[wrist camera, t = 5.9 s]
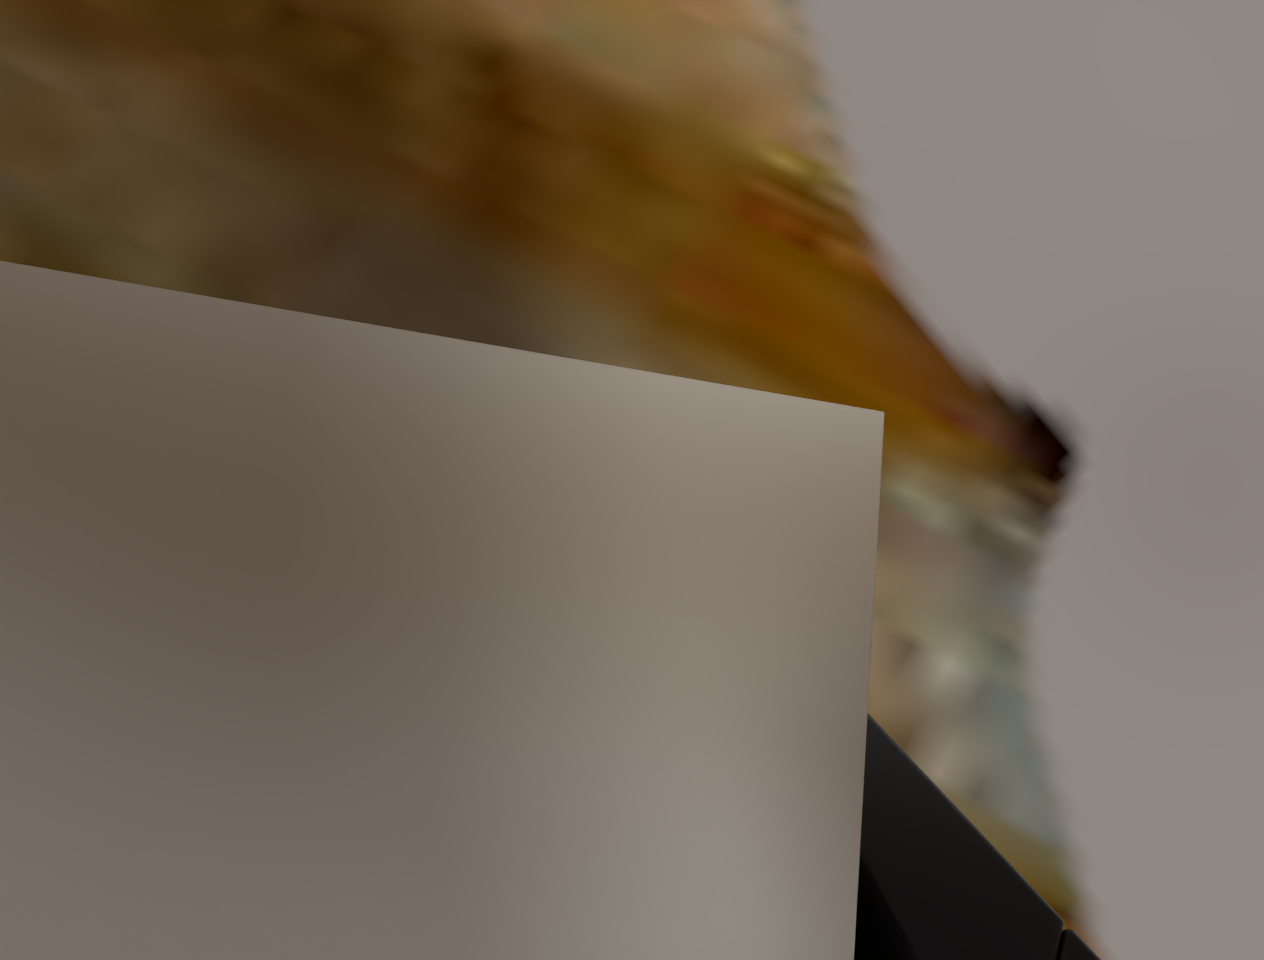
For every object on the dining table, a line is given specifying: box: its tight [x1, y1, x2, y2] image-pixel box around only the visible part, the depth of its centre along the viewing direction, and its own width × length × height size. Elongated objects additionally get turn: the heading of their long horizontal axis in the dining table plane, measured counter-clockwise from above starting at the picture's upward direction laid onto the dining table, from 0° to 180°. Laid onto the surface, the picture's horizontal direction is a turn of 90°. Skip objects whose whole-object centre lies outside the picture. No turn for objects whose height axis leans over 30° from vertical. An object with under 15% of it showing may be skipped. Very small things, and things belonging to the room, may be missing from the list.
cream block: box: [0, 261, 884, 960], centre depth 10 cm, size 5×5×10 cm
